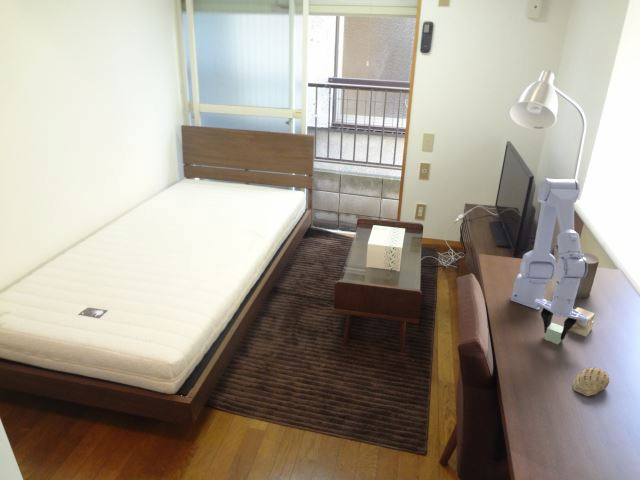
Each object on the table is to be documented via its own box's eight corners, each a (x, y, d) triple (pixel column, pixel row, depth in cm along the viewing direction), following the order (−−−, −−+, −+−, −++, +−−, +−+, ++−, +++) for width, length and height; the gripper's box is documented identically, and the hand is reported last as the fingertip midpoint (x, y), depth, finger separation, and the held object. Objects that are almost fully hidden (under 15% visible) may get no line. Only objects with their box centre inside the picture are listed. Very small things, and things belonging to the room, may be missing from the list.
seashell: (603, 410, 123) (608, 376, 128) (608, 399, 118) (613, 365, 124) (569, 399, 126) (576, 366, 132) (573, 388, 122) (580, 355, 127)
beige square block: (569, 321, 149) (571, 313, 148) (575, 315, 152) (577, 307, 151) (586, 328, 146) (589, 319, 145) (592, 321, 149) (594, 313, 148)
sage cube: (544, 339, 145) (547, 327, 144) (548, 333, 148) (551, 322, 146) (558, 344, 143) (561, 333, 141) (562, 338, 145) (565, 327, 144)
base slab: (565, 330, 150) (567, 321, 149) (571, 322, 154) (573, 314, 153) (586, 337, 147) (588, 329, 145) (591, 329, 151) (593, 321, 150)
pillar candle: (591, 289, 173) (601, 251, 167) (588, 301, 166) (599, 262, 160) (561, 282, 178) (570, 245, 172) (557, 293, 170) (566, 255, 164)
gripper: (533, 291, 141) (525, 331, 146) (587, 310, 132) (576, 351, 138) (542, 283, 146) (533, 321, 151) (594, 300, 137) (583, 340, 142)
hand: (554, 335), depth 145 cm, fingers closed on sage cube, 4 cm apart
